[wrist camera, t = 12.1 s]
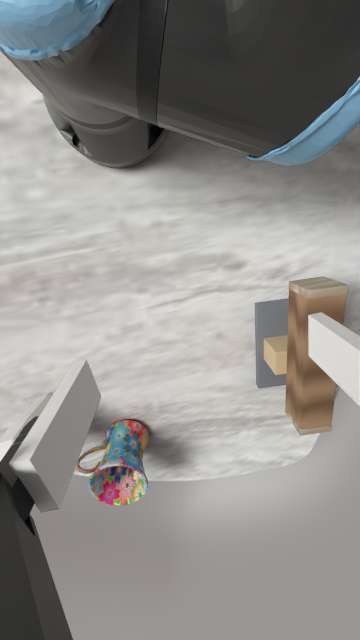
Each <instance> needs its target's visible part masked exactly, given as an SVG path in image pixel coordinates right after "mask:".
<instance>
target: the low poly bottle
mask: <svg viewBox="0 0 360 640" xmlns="http://www.w3.org/2000/svg"><path fill="white" fill-rule="evenodd" d="M52 396H53V394H52V393H47V394H44V395H41V396H39V397H38V398H37V399H36V400H35V401H34V402H33V403H32V404H31V405H30V406H29V407H28V408H27V409H26V410H25V411H24V412H23V413H22V414H21V415H20V416H19V417H18V418H17V419H16V420H15V421H14V422H13V423H12V424H11V426H10V427H9V428H8V430H7V431H6V432H5V434H4V435H3V436H2V437H1V439H0V461H1V460H2V458H3V457H4V456H5V454H6V453H7V451H8V450H9V448H10V447H11V445H13V442H14V441H15V439H16V438H17V437H18V435H19V434H20V432H21V431H22V429H23V428H24V426H25V425H26V424H27V423H28V422H29V421H31V420H32V419H33V418H34V417H36V416H40V414H41V413H42V411H43V410H44V408H45V406H46V405H47V403H48V402H49V400H50V399H51V397H52Z"/></svg>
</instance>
